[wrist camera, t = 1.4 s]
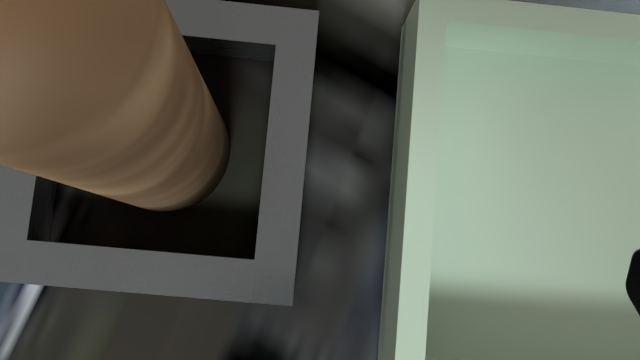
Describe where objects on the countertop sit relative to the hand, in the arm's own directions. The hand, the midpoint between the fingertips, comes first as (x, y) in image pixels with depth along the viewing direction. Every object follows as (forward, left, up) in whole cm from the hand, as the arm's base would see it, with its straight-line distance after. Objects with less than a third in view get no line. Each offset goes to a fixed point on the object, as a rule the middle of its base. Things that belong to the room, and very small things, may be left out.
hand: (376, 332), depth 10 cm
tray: (+4, -9, -14) cm, 17 cm away
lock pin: (+5, +7, -14) cm, 16 cm away
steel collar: (+5, +7, -14) cm, 16 cm away
